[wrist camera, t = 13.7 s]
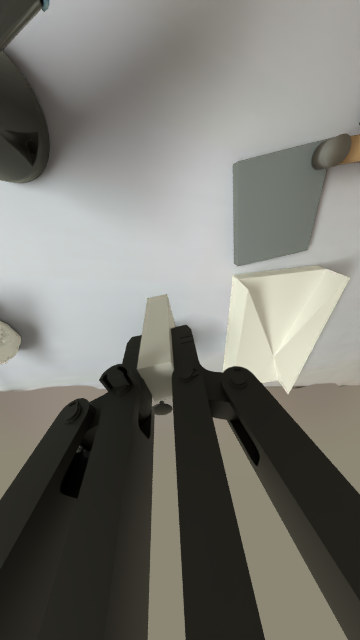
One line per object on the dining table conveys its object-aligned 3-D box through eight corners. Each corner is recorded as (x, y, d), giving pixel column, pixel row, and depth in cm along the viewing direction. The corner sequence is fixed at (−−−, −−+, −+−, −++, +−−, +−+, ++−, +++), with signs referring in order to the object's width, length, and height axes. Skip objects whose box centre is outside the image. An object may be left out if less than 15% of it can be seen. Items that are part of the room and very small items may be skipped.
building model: (273, 373, 69) (288, 394, 61) (221, 380, 68) (229, 402, 60) (315, 264, 43) (349, 277, 35) (232, 274, 42) (248, 289, 35)
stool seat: (233, 164, 30) (238, 161, 28) (322, 142, 29) (334, 137, 27) (233, 263, 40) (237, 266, 38) (299, 248, 40) (307, 250, 38)
